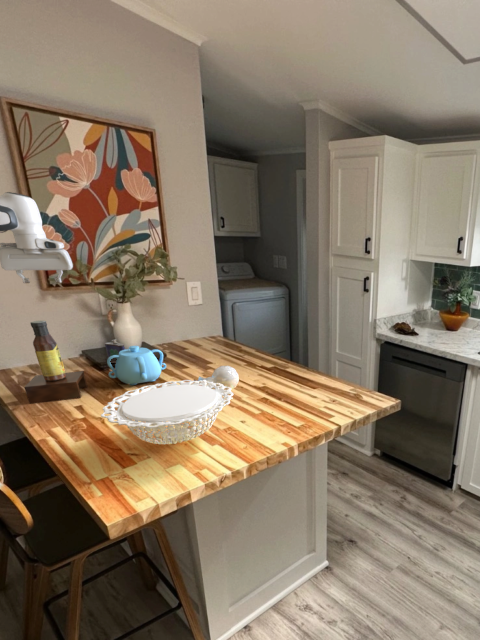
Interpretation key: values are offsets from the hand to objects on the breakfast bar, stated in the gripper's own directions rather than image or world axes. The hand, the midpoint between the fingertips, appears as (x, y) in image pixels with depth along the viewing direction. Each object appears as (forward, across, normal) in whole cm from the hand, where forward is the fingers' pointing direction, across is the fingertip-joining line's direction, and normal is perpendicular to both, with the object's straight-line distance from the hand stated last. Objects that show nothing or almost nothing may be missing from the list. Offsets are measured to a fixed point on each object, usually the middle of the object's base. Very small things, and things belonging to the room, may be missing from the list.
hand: (43, 282), depth 150 cm
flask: (+35, +17, +6) cm, 40 cm away
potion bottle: (+35, +54, -42) cm, 77 cm away
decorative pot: (+35, +27, -19) cm, 48 cm away
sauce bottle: (+29, +3, -26) cm, 39 cm away
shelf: (+35, +3, -26) cm, 44 cm away
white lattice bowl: (+35, +41, -77) cm, 94 cm away
